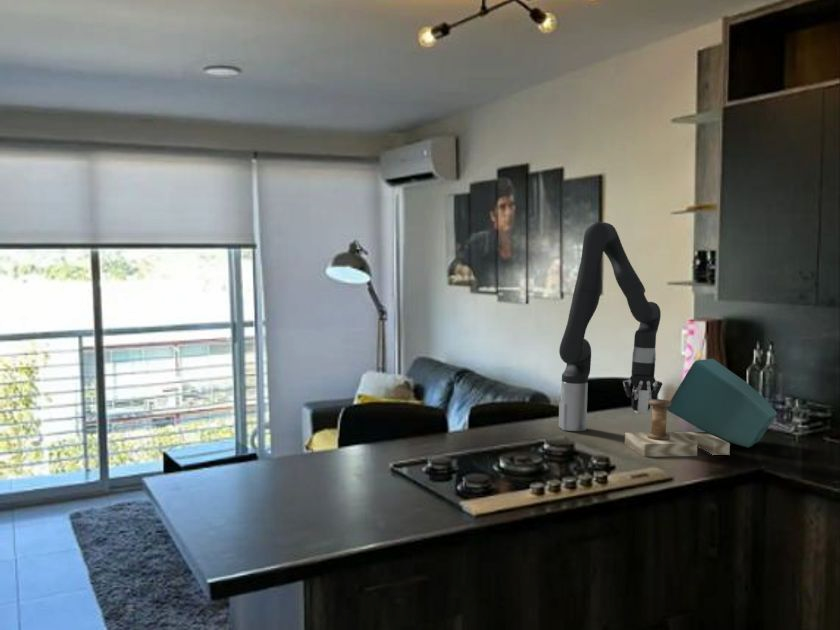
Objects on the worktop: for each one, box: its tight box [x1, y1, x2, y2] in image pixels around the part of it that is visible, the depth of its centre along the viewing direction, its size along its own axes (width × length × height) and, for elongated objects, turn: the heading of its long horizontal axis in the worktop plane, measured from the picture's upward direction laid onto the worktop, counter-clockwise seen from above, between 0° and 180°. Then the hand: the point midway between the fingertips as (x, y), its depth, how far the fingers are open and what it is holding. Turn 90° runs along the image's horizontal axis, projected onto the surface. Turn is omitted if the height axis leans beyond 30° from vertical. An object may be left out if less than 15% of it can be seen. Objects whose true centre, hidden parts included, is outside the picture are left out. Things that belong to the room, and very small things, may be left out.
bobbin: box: [647, 398, 671, 440], centre depth 243 cm, size 7×7×12 cm
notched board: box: [624, 431, 731, 458], centre depth 244 cm, size 28×16×4 cm, turn 96°
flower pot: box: [667, 358, 778, 448], centre depth 255 cm, size 20×20×28 cm
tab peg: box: [633, 390, 649, 415], centre depth 257 cm, size 4×4×8 cm
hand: (640, 410), depth 257 cm, fingers closed on tab peg, 3 cm apart
